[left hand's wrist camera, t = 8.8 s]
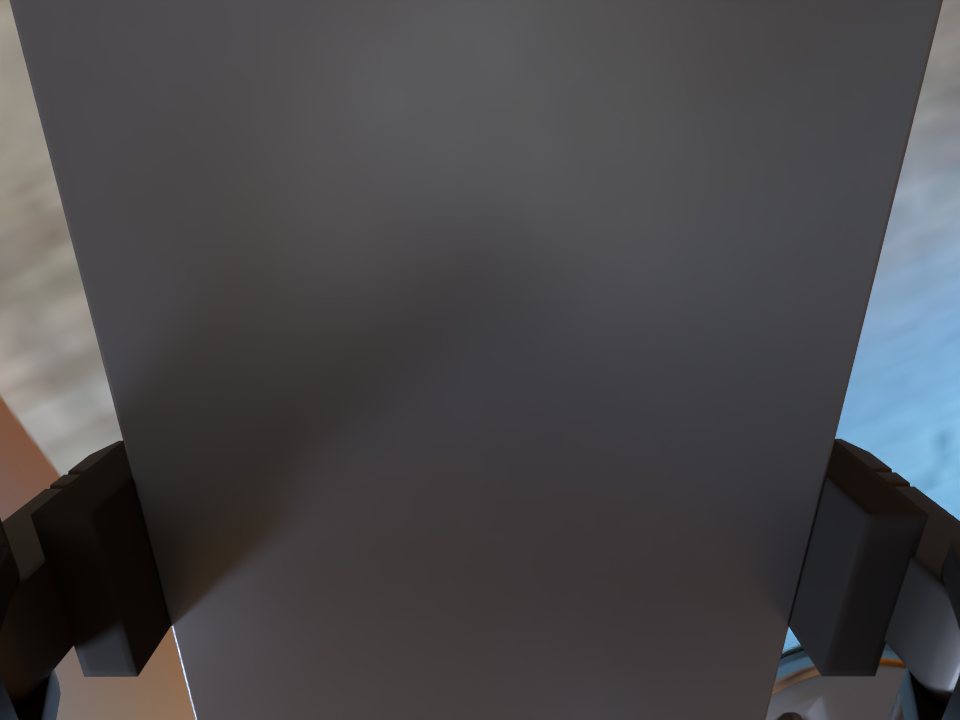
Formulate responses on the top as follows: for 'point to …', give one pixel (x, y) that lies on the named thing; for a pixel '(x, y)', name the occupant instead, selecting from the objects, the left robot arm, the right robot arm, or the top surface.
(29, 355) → the top surface
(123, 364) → the slab
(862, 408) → the top surface
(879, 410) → the top surface
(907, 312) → the top surface
